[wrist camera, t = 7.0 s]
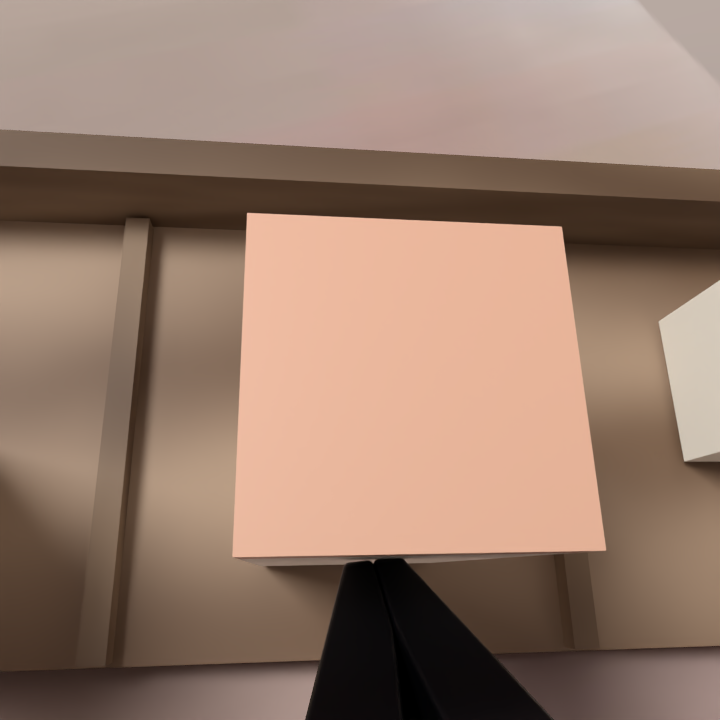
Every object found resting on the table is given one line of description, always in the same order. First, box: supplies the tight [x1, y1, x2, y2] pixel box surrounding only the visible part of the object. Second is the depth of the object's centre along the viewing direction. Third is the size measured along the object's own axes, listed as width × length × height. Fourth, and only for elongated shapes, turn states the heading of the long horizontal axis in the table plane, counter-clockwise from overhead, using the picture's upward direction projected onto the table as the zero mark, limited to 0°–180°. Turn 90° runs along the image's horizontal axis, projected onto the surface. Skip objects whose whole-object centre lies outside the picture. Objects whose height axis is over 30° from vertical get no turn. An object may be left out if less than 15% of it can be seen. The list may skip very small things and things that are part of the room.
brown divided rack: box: [0, 130, 720, 672], centre depth 16 cm, size 12×26×4 cm, turn 91°
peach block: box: [232, 213, 606, 566], centre depth 11 cm, size 4×4×9 cm
